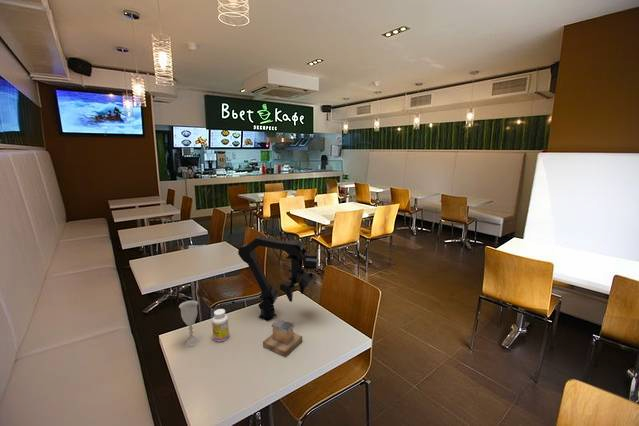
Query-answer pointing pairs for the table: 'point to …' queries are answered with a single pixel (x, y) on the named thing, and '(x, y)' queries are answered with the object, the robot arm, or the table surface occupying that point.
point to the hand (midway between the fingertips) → (296, 297)
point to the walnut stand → (282, 345)
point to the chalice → (189, 319)
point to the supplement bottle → (220, 325)
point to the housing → (282, 331)
